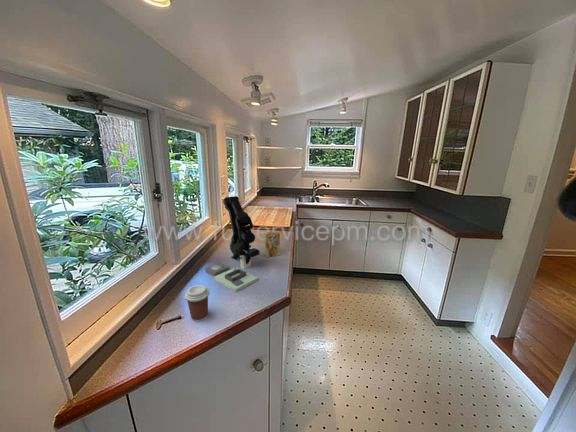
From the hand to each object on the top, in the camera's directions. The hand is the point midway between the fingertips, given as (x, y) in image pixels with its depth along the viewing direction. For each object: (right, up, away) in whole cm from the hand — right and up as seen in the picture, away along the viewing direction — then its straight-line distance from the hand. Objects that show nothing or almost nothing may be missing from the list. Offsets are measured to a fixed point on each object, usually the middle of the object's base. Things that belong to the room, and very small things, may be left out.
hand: (245, 263), depth 138 cm
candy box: (+14, +2, +15) cm, 21 cm away
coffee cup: (-11, -13, -41) cm, 45 cm away
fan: (-14, -4, -5) cm, 16 cm away
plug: (-1, -2, 0) cm, 2 cm away
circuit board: (-2, -6, -14) cm, 15 cm away
